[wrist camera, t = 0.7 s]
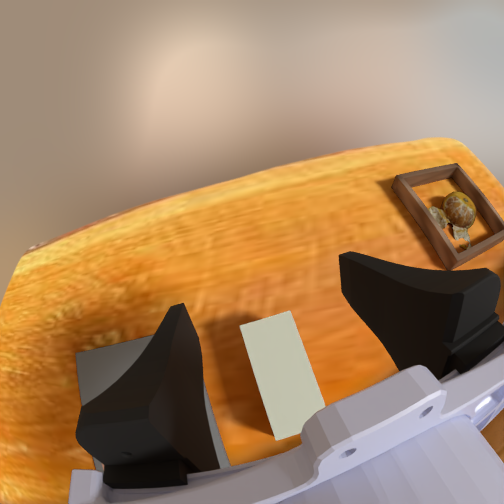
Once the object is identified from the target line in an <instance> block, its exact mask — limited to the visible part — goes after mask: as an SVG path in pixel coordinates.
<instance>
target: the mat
mask: <svg viewBox="0 0 504 504" xmlns="http://www.w3.org/2000/svg"><path fill="white" fill-rule="evenodd" d="M153 336H154V335H151V336H147V337H143V338H139V339H135V340H131V341H127V342H123V343H119V344H114V345H110V346H106V347H102V348H97V349H93V350H88V351H84V352H79V353H76V364H77V374H78V382H79V390H80V397H81V403H82V406H83V405H85V404H86V403H88V402H89V401H91V400H92V399H94V398H95V397H97V396H98V395H100V394H101V393H102V392H104V391H105V390H106V389H107V388H109V387H110V386H111V385H112V384H113V383H115V382H116V381H117V380H118V379H119V378H120V377H121V376H122V375H123V374H124V373H125V372H126V371H127V370H128V369H129V368H130V367H131V366H132V365H133V363H134V362H135V361H136V360H137V359H138V357H139V356H140V355H141V354H142V352H143V351H144V349H145V348H146V347H147V345H148V343H149V342H150V340H151V339H152V337H153ZM203 382H204V379H203ZM204 398H205V406H206V411H207V416H208V421H209V426H210V430H211V435H212V439H213V443H214V447H215V451H216V454H217V458H218V462H219V465H220V468H221V469H222V468H227V467H231V465H230V463H229V460H228V457H227V454H226V451H225V448H224V445H223V442H222V439H221V436H220V433H219V430H218V427H217V423H216V420H215V417H214V414H213V410H212V407H211V404H210V400H209V397H208V394H207V390H206V387H205V383H204ZM93 460H94V464H95V467H96V470H98V471H101V472H103V473H104V465H103V464H102V463H101V462H100V461H98V460H97V459H96V458H94V457H93Z"/></svg>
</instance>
